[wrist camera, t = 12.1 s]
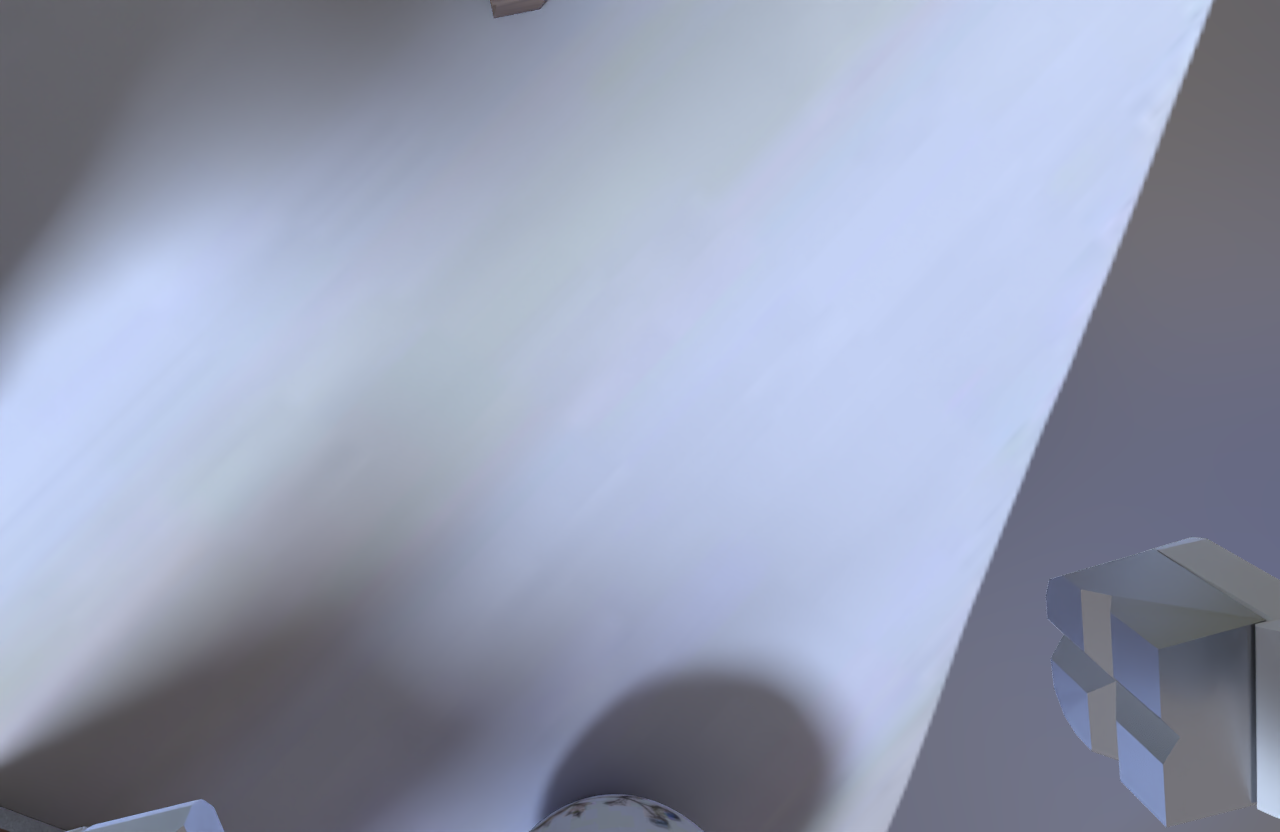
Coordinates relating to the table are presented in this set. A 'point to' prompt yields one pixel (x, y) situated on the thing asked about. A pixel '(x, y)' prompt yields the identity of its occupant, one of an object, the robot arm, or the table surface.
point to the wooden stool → (514, 6)
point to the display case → (23, 823)
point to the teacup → (616, 816)
